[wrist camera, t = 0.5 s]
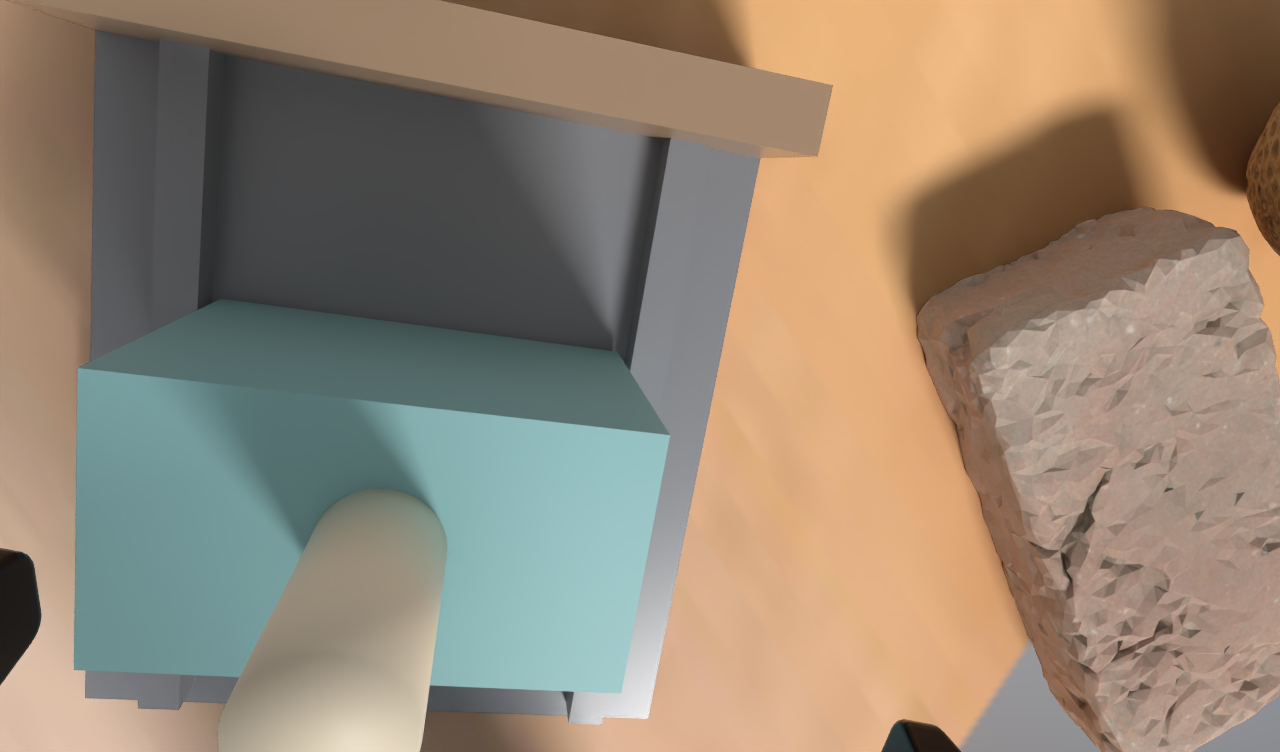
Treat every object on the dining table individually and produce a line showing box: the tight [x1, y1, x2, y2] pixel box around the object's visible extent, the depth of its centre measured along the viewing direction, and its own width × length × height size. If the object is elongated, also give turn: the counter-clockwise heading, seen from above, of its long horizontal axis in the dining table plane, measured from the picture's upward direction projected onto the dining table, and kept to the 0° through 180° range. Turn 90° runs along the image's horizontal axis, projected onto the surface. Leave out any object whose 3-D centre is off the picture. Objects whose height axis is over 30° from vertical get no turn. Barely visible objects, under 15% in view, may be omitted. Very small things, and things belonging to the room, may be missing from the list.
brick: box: [916, 207, 1280, 752], centre depth 25 cm, size 16×8×5 cm, turn 26°
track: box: [7, 0, 833, 725], centre depth 20 cm, size 19×16×5 cm
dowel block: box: [74, 299, 670, 752], centre depth 16 cm, size 6×10×12 cm, turn 80°
